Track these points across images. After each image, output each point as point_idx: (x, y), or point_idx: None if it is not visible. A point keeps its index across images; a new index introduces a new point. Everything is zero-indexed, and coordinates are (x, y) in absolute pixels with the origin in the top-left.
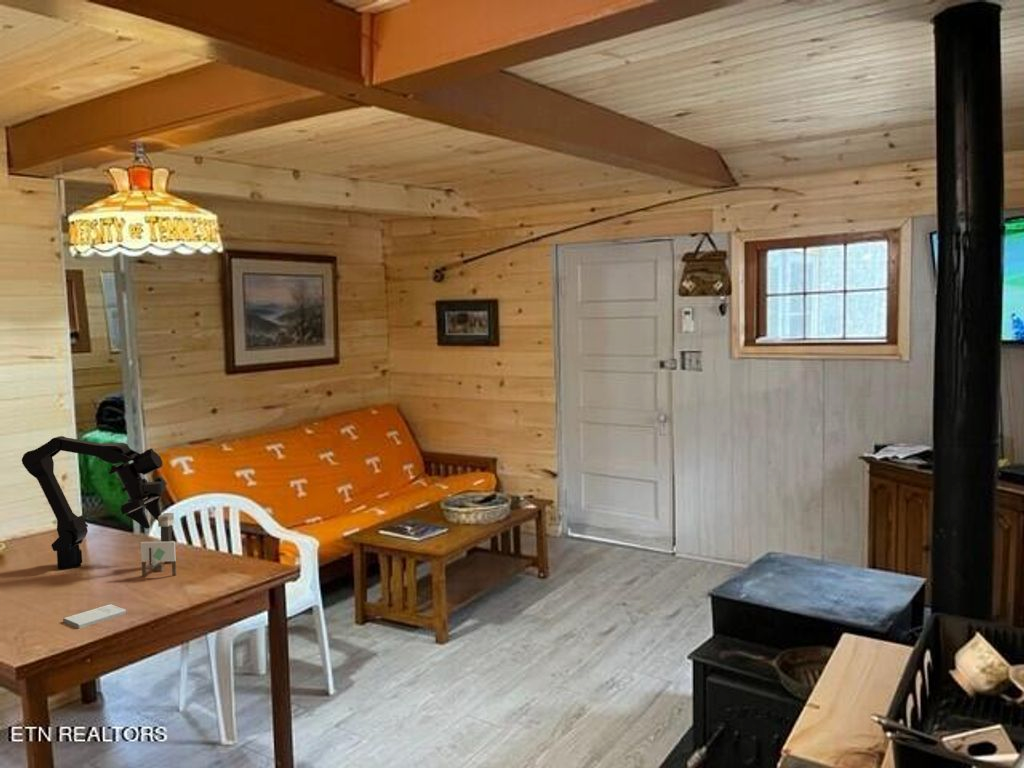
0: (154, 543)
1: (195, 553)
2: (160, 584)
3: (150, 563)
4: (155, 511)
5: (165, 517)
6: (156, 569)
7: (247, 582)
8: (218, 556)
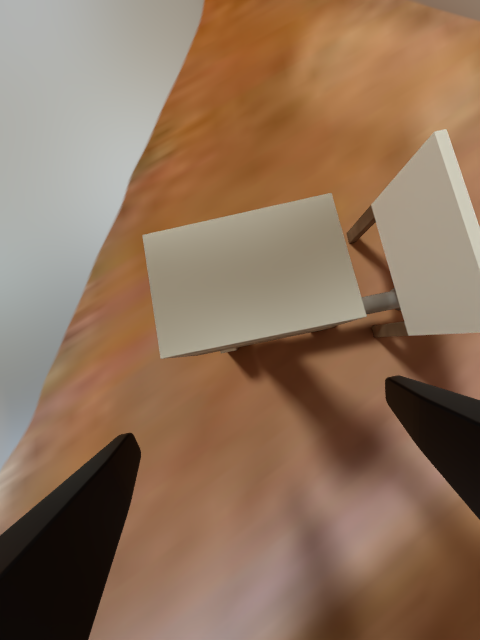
0: (477, 244)
1: (123, 308)
2: None
3: None
4: (63, 569)
5: (335, 225)
6: None
7: (364, 5)
8: (147, 214)
